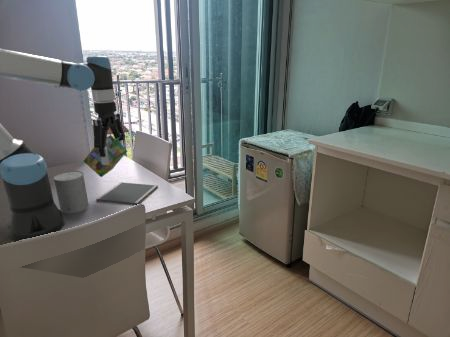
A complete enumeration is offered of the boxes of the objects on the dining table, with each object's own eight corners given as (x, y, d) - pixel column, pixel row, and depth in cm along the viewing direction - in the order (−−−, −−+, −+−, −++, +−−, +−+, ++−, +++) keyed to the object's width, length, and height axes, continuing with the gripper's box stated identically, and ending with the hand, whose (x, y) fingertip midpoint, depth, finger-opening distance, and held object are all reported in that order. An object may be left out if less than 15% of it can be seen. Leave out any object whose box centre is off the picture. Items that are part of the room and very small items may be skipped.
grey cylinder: (54, 211, 115) (47, 178, 111) (74, 200, 123) (69, 169, 119) (74, 215, 111) (68, 182, 107) (94, 203, 120) (89, 172, 116)
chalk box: (100, 178, 123) (121, 153, 117) (82, 161, 122) (102, 135, 116) (113, 169, 132) (133, 145, 126) (96, 153, 131) (116, 128, 125)
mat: (137, 205, 118) (137, 202, 118) (96, 200, 122) (96, 198, 122) (157, 187, 134) (157, 185, 133) (120, 184, 138) (120, 182, 137)
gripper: (112, 97, 128) (119, 151, 135) (75, 105, 108) (86, 169, 116) (129, 97, 126) (136, 152, 134) (95, 106, 106) (105, 170, 114)
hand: (113, 160), depth 125 cm, fingers closed on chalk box, 9 cm apart
